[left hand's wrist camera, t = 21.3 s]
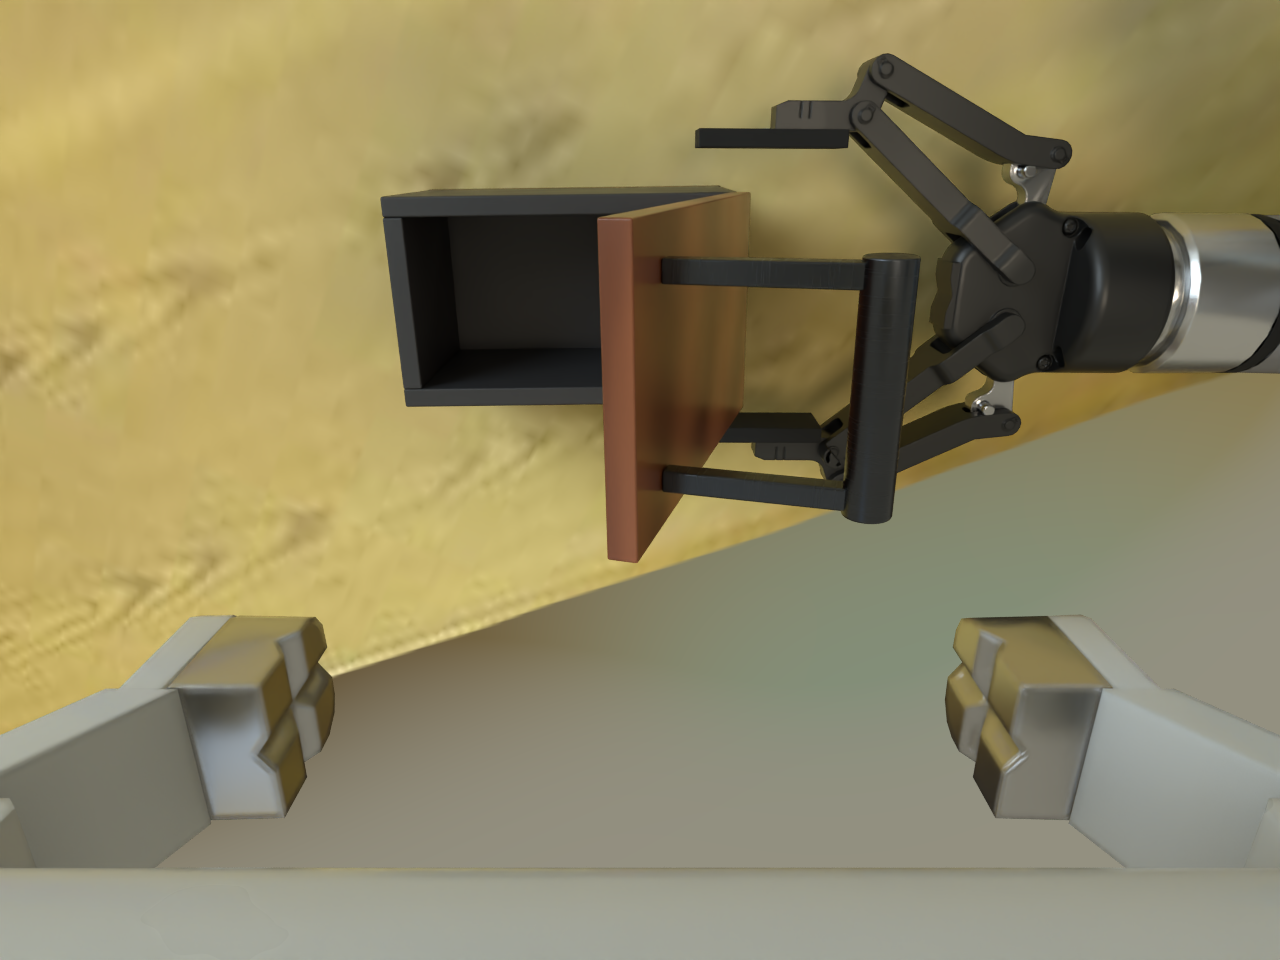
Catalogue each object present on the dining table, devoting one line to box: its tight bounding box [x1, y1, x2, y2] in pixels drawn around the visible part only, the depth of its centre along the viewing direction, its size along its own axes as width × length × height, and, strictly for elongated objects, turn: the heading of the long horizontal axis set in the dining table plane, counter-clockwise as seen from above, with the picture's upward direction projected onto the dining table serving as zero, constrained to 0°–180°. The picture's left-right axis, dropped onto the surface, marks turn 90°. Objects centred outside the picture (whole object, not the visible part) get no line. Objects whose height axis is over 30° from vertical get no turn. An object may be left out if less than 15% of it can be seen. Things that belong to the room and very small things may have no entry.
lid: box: [597, 192, 921, 563], centre depth 27 cm, size 16×9×8 cm
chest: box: [381, 186, 735, 407], centre depth 40 cm, size 15×9×10 cm, turn 91°
